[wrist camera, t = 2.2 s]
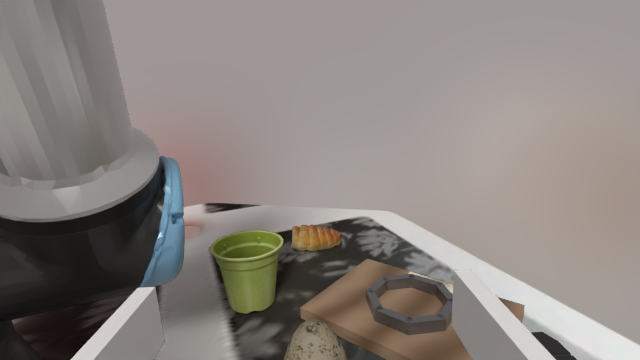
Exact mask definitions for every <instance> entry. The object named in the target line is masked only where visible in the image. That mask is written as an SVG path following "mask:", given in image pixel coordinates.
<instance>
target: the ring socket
mask: <svg viewBox="0 0 640 360" xmlns="http://www.w3.org/2000/svg"><path fill="white" fill-rule="evenodd" d="M405 288H414V289H417V290H420V291H423V292H426V293H429V294H432V295H435V296H436V297H437V298H438V299H439V300H440V302H441V303H442V304H443V306H444V307H443V308H442V309H441V311H440V312H439V313H438V314H434V315H424V316H415V317H407V316H405V315H402V314H400V313H397V312H394V311H392V310H389V309H387V308H384V307H382V305H381V303H380V301H379V298H380V297H381V296H382V295H383V294H384V293H385V292H386V291H387V290H395V289H405ZM366 301H367V303H368V306H369V308H370V311H371V313H372V315H373V318H374V320H375V322H378V323H380V324H382V325H385V326H387V327H390V328H392V329H394V330H397V331H399V332H402V333H404V334H406V335H416V334H425V333H434V332H443V331H446V329H447V328H448V326H449V325H450V323H451V322H452V301H453V295H452V293H451V292H450V291H449V290H448V289H447V288H446V287H445V285H444V284H443V283H441V282H438V281H435V280H431V279H428V278H425V277H421V276H418V275H414V274H404V275H394V276H384V277H381V278H380V279H379V280H378V281H377V282H376V283H374V284H373V285H372V286H371V287H370V288H369V289H367V290H366Z"/></svg>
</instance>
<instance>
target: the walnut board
mask: <svg viewBox="0 0 640 360" xmlns="http://www.w3.org/2000/svg"><path fill="white" fill-rule="evenodd" d="M404 274H414V275H418V276H421V277H425V278H428V279H431V280H435V281H438V282H441V283H443V284H444V285H445V287H446V288H447V289H448V290H449V291H450V292H451V293H452V295H453V284H451V283H448V282H444V281H441V280H437V279H434V278H431V277H427V276H424V275H420V274H417V273H414V272H410V271H407V270H403V269H400V268H397V267H393V266H390V265H387V264H383V263H380V262H376V261H373V260H370V259H366V260H365V261H363V262H362V263H361V264H359V265H358V266H357V267H355V268H354V269H352V270H351V271H350V272H348V273H347V274H346V275H344V276H343V277H342V278H340V279H339V280H337V281H336V282H335V283H333V284H332V285H331V286H329V287H328V288H326V289H325V290H324V291H322V292H321V293H320V294H318V295H317V296H316V297H314V298H313V299H311V300H310V301H309V302H307V303H306V304H305V305H303V306H302V307H300V310H301V318H302V319H304V320H306V321H307V320H311V319H317V320H320V321H322V322H324V323H325V324H327V325H328V326H329V327H330V328H331V329H332V330H333V332H334V333H335V334H336V335H337V336H339V337H341V338H343V339H345V340H347V341H349V342H351V343H353V344H355V345H357V346H359V347H362V348H364V349H366V350H368V351H370V352H372V353H374V354H376V355H378V356H380V357H382V358H384V359H386V360H473V359H472V358H471V356H470V354H469V353H468V351H467V350H466V348H465V346H464V345H463V343H462V341H461V340H460V338H459V337H458V335H457V333H456V332H455V330H454V329H453V327H452V322H451V323H450V325H449V326H448V328H447V329H446V331H443V332H434V333H425V334H416V335H406V334H404V333H402V332H399V331H397V330H394V329H392V328H390V327H387V326H385V325H382V324H380V323H378V322H375V320H374V318H373V315H372V313H371V311H370V308H369V306H368V303H367V301H366V290H367V289H369V288H370V287H371V286H372V285H373V284H374V283H376V282H377V281H378V280H379V279H380V278H381V277H384V276H394V275H404ZM497 298H498V297H497ZM498 299H499V300H500V301H501V302H502V303H503V304H504V305H505V306H506V307H507V308H508V309H509V310H510V311H511V312H512V313H513V315H514V316H515V317H516V318H517V319H518V320H519V321H520V322H521V321H522V319H523V315H524V306H525V305H522V304H519V303H515V302H512V301H509V300H505V299H502V298H498ZM379 301H380V303H381V305H382V307H384V308H387V309H389V310H392V311H394V312H397V313H400V314H402V315H405V316H407V317H415V316H424V315H434V314H438V313H439V312H440V311H441V309H442V308H443V307H444V306H443V304H442V303H441V302H440V300H439V299H438V298H437V297H436V296H435V295H432V294H429V293H426V292H423V291H420V290H417V289H414V288H405V289H395V290H387V291H386V292H385V293H384V294H383V295H382V296H381V297H380V298H379Z"/></svg>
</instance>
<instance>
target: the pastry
mask: <svg viewBox="0 0 640 360" xmlns="http://www.w3.org/2000/svg"><path fill="white" fill-rule="evenodd" d="M340 242H341V238H340V233H339V232H338V231H336V230H334V229H329V228H325V227H321V226H315V225H310V226H307V225H302V226H301V227H297V226H294V227H293V229H292V245H291V247H292V248H293V249H295V250H298V251H304V250H309V251H316V250H322V249H328V248H332V247H334V246H336V245H339V244H340Z"/></svg>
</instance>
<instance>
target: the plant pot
mask: <svg viewBox="0 0 640 360" xmlns="http://www.w3.org/2000/svg"><path fill="white" fill-rule="evenodd" d="M282 245H283V238H282V237H281V236H280V235H278V234H276V233H273V232H269V231H262V230H255V231H254V230H252V231H243V232H237V233H233V234H230V235H227V236H224V237H222V238H220V239H218V240H216V241H215V242H214V243H213V244H212V246H211V248H210V251H211V254H212V255H213V256H214V257H215V259H216V262H217V264H218V265H219V266H220V270H221V273H222V277H223V280H224V284H225V288H226V292H227V296H228V300H229V303H230V306H231V308H232V309H233V310H234V311H236V312H239V313H245V314H248V313H250V312H252V311H262V310H265V309H266V308H268V307H269V306H271V305H272V303H273V302H274V300H275V289H276V275H277V264H278V257H279V255H280V248H281V247H282Z"/></svg>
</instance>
